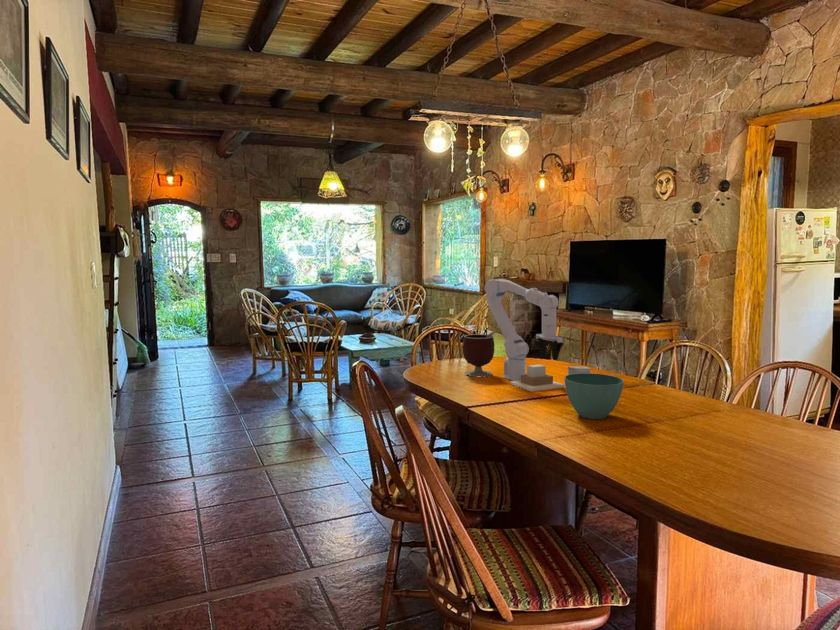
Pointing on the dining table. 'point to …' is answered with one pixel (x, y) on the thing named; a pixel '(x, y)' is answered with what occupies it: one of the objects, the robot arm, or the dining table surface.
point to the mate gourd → (478, 352)
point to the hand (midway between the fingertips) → (549, 358)
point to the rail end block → (536, 371)
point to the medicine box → (578, 370)
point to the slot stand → (537, 383)
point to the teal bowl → (593, 393)
